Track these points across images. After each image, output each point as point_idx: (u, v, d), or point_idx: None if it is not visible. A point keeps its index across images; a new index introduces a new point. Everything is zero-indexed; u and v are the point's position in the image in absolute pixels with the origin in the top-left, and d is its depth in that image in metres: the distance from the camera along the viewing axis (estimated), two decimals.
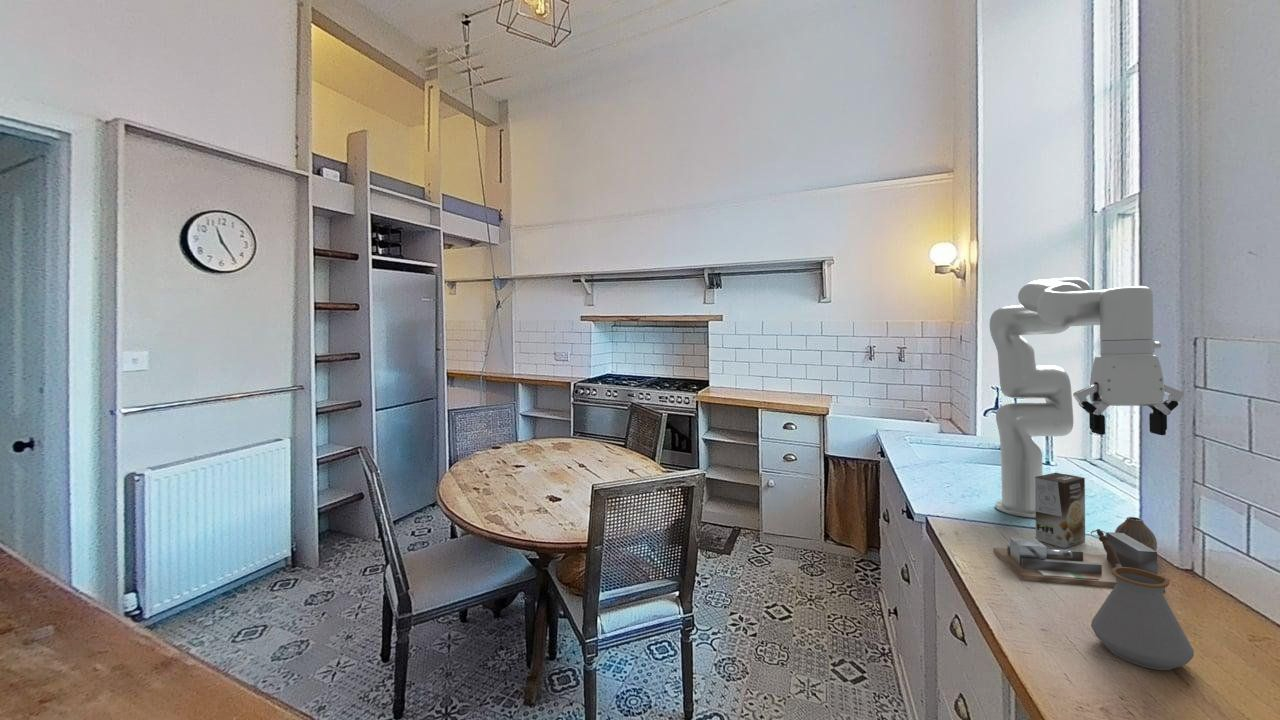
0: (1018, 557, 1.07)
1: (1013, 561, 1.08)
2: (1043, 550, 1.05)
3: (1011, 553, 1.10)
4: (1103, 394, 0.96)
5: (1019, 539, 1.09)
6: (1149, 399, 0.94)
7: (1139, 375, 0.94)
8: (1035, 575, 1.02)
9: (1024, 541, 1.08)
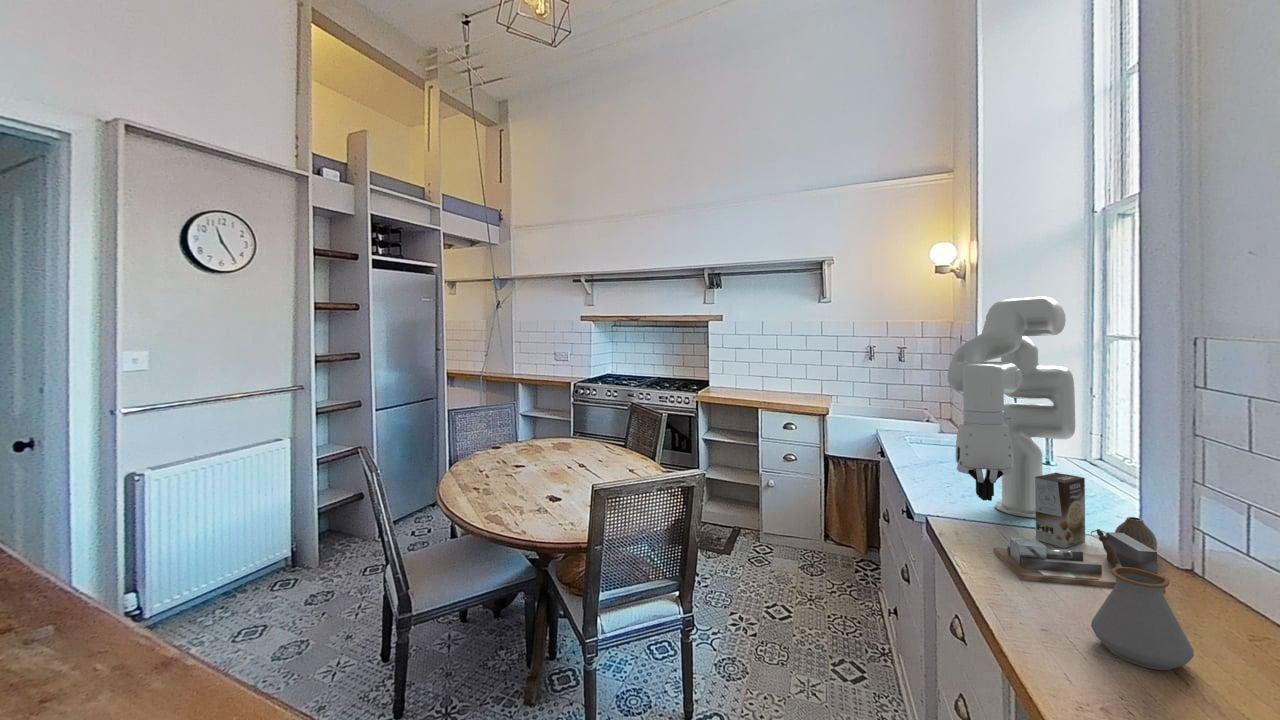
0: (1018, 557, 1.07)
1: (1013, 561, 1.08)
2: (1043, 550, 1.05)
3: (1011, 553, 1.10)
4: (962, 458, 1.09)
5: (1019, 539, 1.09)
6: (1000, 465, 1.06)
7: (991, 443, 1.06)
8: (1035, 575, 1.02)
9: (1024, 541, 1.08)
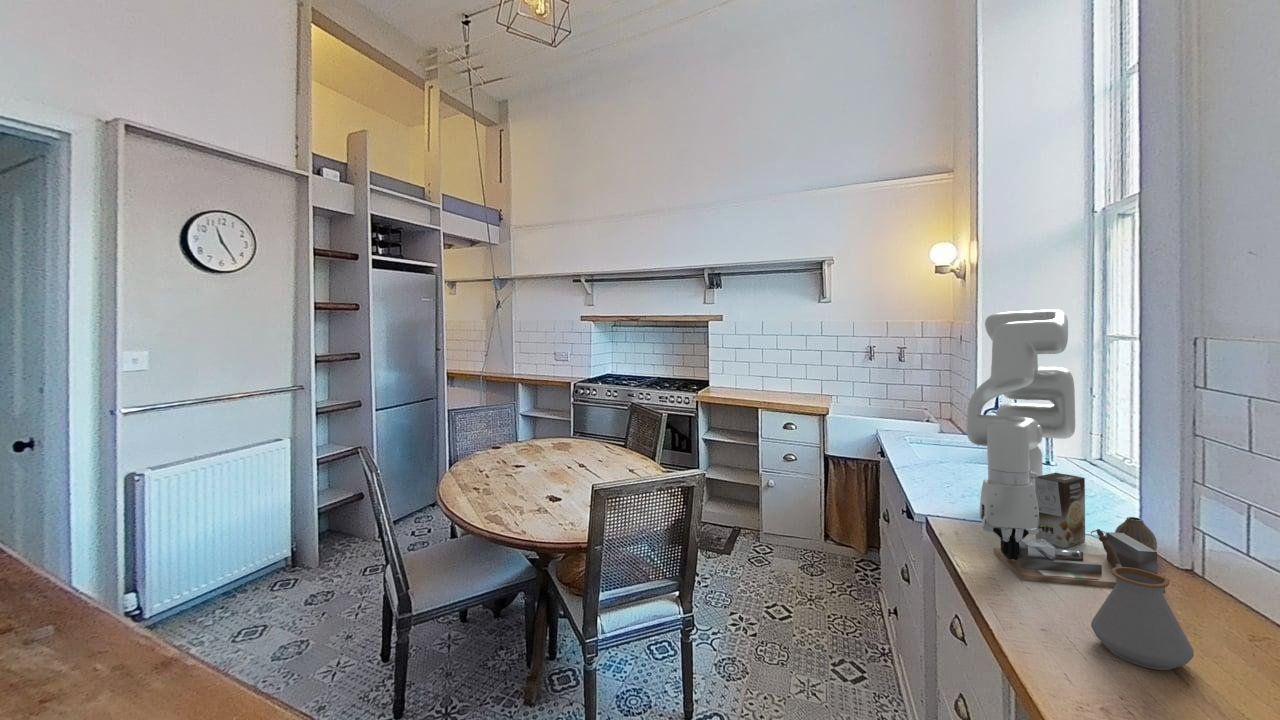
0: None
1: (1013, 561, 1.08)
2: (1052, 551, 1.04)
3: (1019, 554, 1.10)
4: (987, 517, 1.08)
5: (1027, 539, 1.09)
6: (1026, 525, 1.06)
7: (1017, 503, 1.06)
8: (1035, 575, 1.02)
9: (1032, 542, 1.07)
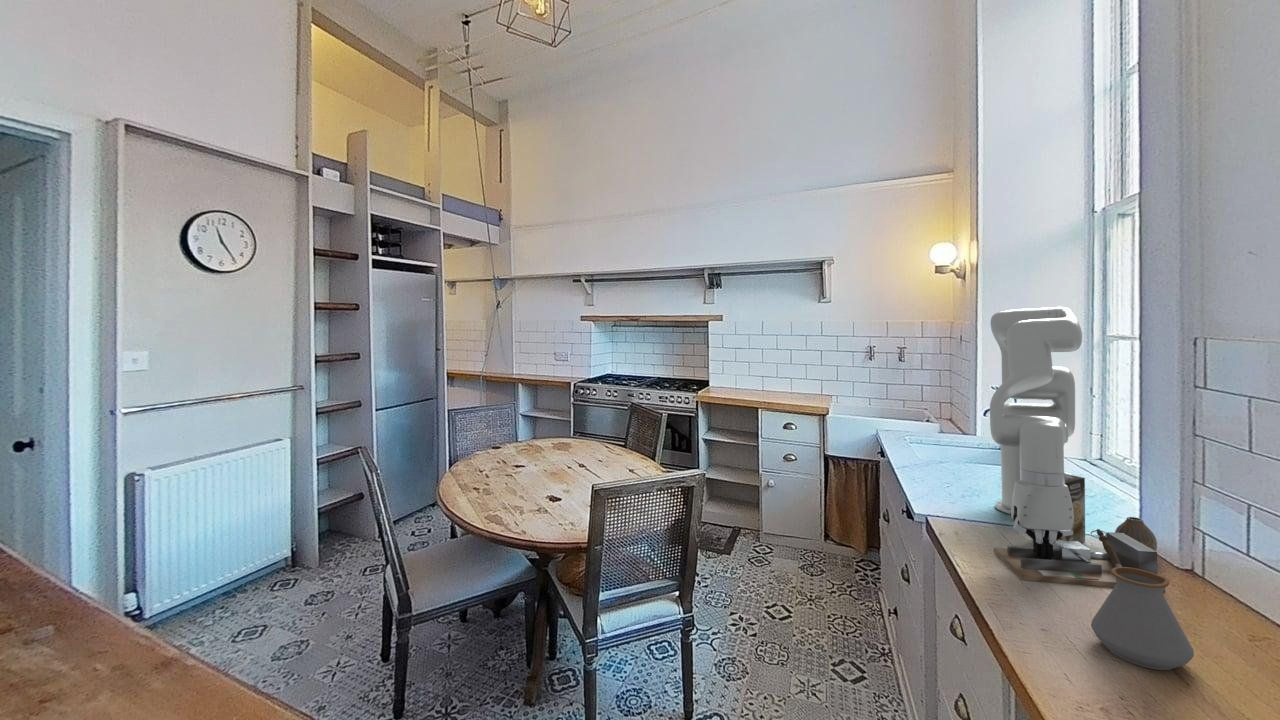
0: None
1: (1013, 561, 1.08)
2: (1087, 553, 1.03)
3: None
4: (1020, 519, 1.06)
5: (1061, 541, 1.07)
6: (1060, 526, 1.04)
7: (1051, 504, 1.04)
8: (1035, 575, 1.02)
9: (1066, 544, 1.06)
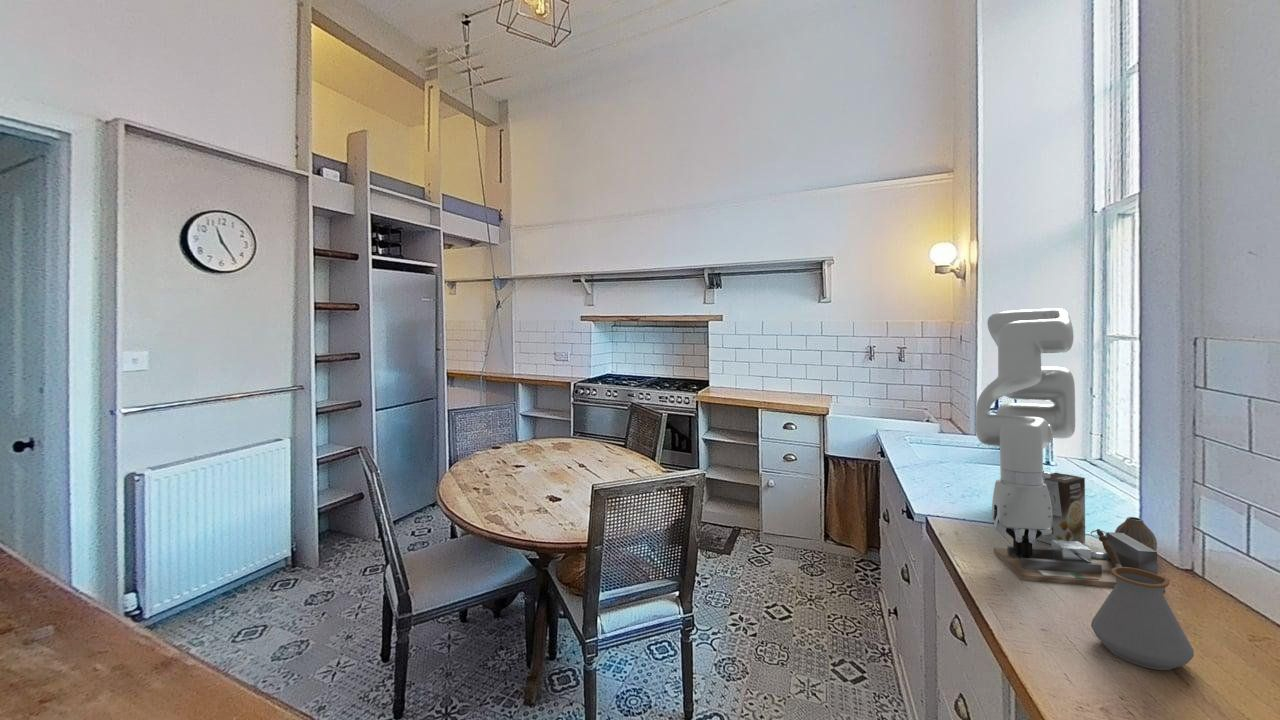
0: None
1: (1013, 561, 1.08)
2: (1087, 553, 1.03)
3: (1052, 556, 1.08)
4: (1000, 517, 1.07)
5: (1061, 542, 1.07)
6: (1039, 525, 1.05)
7: (1030, 503, 1.05)
8: (1035, 575, 1.02)
9: (1067, 544, 1.06)
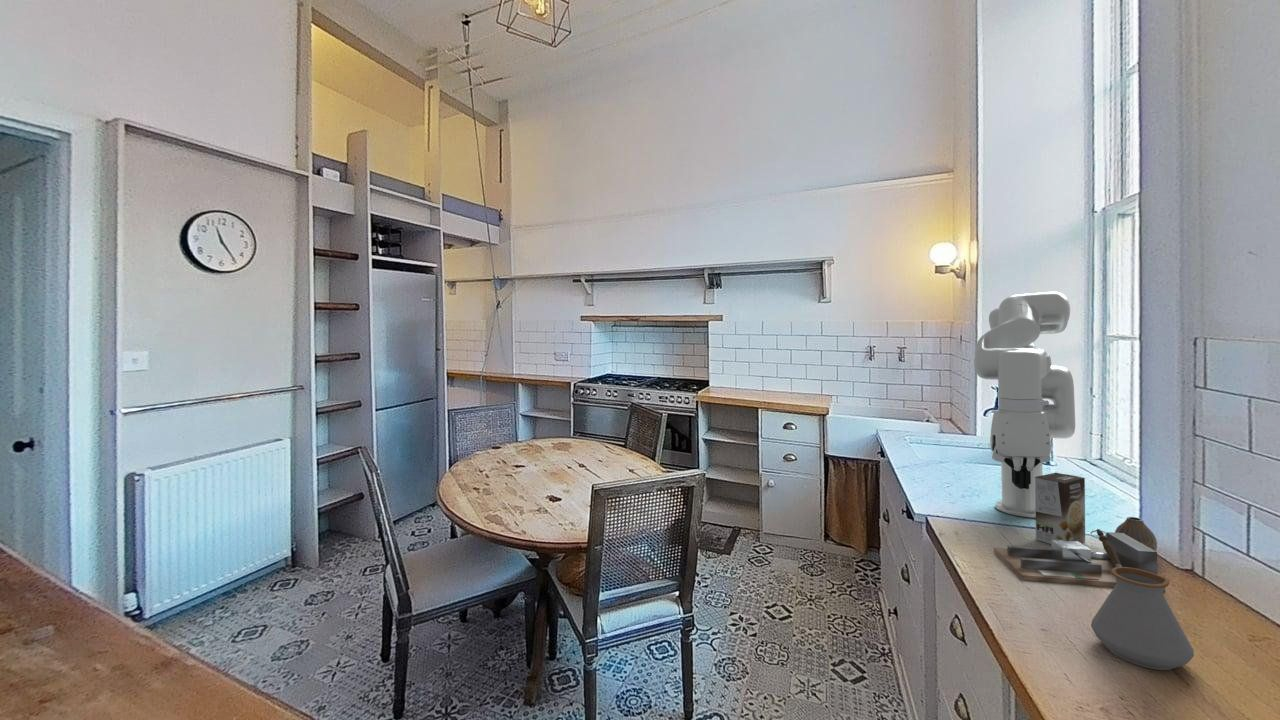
0: None
1: (1013, 561, 1.08)
2: (1087, 553, 1.03)
3: (1052, 556, 1.08)
4: (999, 447, 1.07)
5: (1061, 542, 1.07)
6: (1038, 452, 1.05)
7: (1029, 431, 1.05)
8: (1035, 575, 1.02)
9: (1067, 544, 1.06)
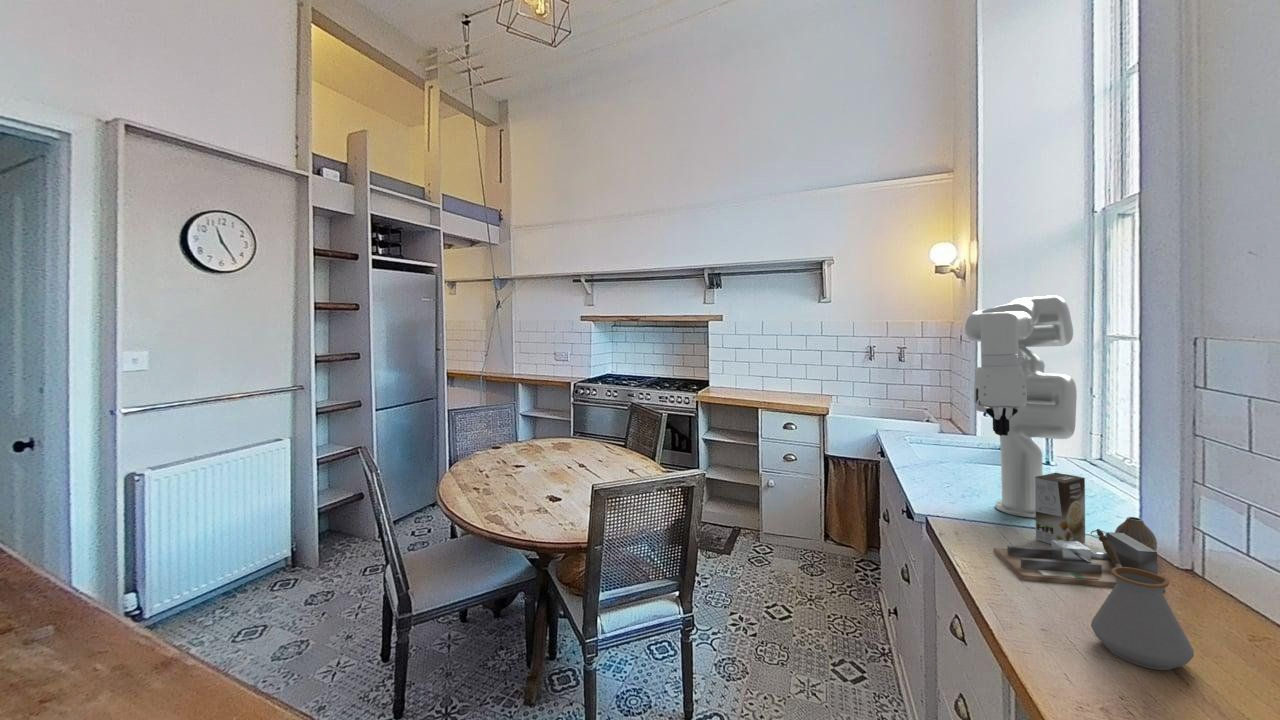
0: None
1: (1013, 561, 1.08)
2: (1087, 553, 1.03)
3: (1052, 556, 1.08)
4: (981, 398, 1.20)
5: (1061, 542, 1.07)
6: (1015, 402, 1.18)
7: (1007, 383, 1.18)
8: (1035, 575, 1.02)
9: (1067, 544, 1.06)
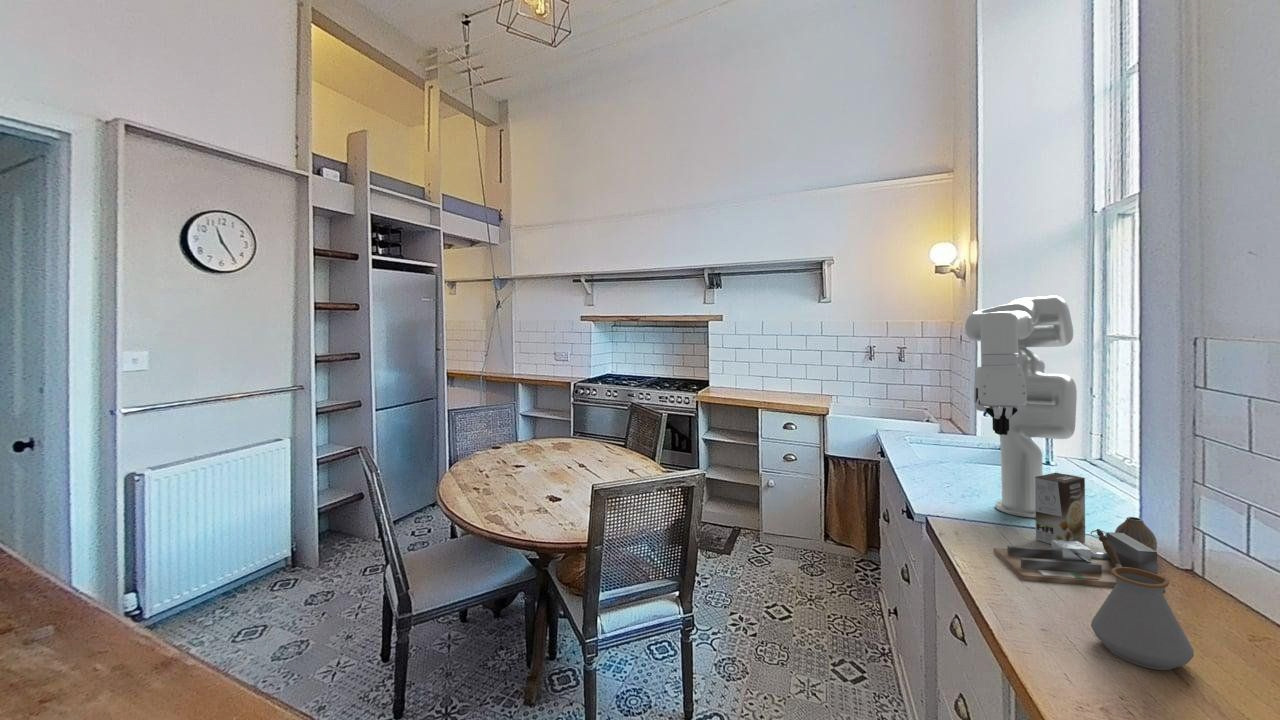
0: None
1: (1013, 561, 1.08)
2: (1087, 553, 1.03)
3: (1052, 556, 1.08)
4: (981, 397, 1.20)
5: (1061, 542, 1.07)
6: (1015, 402, 1.18)
7: (1007, 382, 1.18)
8: (1035, 575, 1.02)
9: (1067, 544, 1.06)
